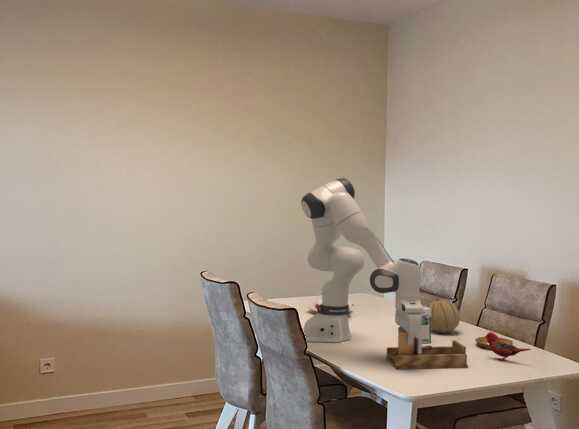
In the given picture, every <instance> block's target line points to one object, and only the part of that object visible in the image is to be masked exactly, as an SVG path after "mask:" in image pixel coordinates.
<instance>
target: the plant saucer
mask: <svg viewBox="0 0 579 429" xmlns="http://www.w3.org/2000/svg"><path fill="white" fill-rule="evenodd" d="M499 338H500V339H501V340H503V341H505V342H508V343H510V344H512V345H513V344H514V342H513V341H512V340H511V339H508V338H505V337H504V338H503V337H499ZM474 340H475V343H476V344H477V345H478V346H479V347H480V346H481V348H482V347H483V349H485V348H487V349H486V350H491V348H490V346H489V345H488V344H487V343H488V341H487V338H486V337H485V336H480V337H476V338H475V339H474Z"/></svg>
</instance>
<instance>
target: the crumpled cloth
mask: <svg viewBox="0 0 579 429" xmlns="http://www.w3.org/2000/svg"><path fill="white" fill-rule="evenodd" d="M316 304H319V305H321V304H322V294H320V295H318V296H317V297H316V298H315V299H314V300H313V301H312V302H311V303H310V304H308V305H307V309H308V310H310V311H314V312H316V313H318V312H317V309H316V308H315V305H316ZM348 305H349V311H350V310H351V309H352V307H354V306H355V304H354V302H352V301H350V300H348Z"/></svg>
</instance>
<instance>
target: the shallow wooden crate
mask: <svg viewBox="0 0 579 429" xmlns="http://www.w3.org/2000/svg"><path fill="white" fill-rule="evenodd" d="M451 343H452V344H451V345H450V346H449V345H448V346H447V345H445V346H441V345H440V346H432V350H422V355H398V346H397V347H396V346H395V347H394V346H393V347H392V346H391V347H386V356H385V359H386V361H388V363H390V365H392V367H394V368H395V370H396V371H397V370H433V369H435V370H436V369H438V370H439V369H442V368H443V369H468V367H469V365H468V354H467V353H466V352H467V347H466V346H465V345H463V344H462V343H460V342H459V341H458V340H452V342H451Z"/></svg>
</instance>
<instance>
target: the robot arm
mask: <svg viewBox="0 0 579 429" xmlns="http://www.w3.org/2000/svg"><path fill="white" fill-rule="evenodd" d="M355 195H356V191H355V188H354V185H353V184H352V182H351V181H349V179H347V178H345V177H342V178H341V177H340V178H337V179H335V180H334V181H333V180H332V181H330V182H328V183H327V182H326V183H325V184H323V185H321V186H319V187H317V188H315V189H314V190H312V191H311V192H308V193H306V194H304V195H303V196H302V198H301V201H300V202H301V203H300V204H301V208H302V211H303V212H304V214H305V215H306V217H307V218H310V221H311V223H312V228H313V232H314V236H315V243H314V245H313V246H312V247H311V248H310V249H309V251H308V252H307V262H308V265H309V266H310V267H311V268H312V269H314V270H318V271H321V272H329V273H330V272H331V273H333V276H332V278H331V279H330V280H328V281H326V282H325V283H324V284H323V285H322V288H321V295H322V304H321V305H319V304H316V305H315V308H316V309H317V312H316V313H315V314H314V315H312V317H311V316H310V318H309V319H307V320H305V323H304V326H303V331H304V333H305V336H306V340H307V341H306V343H308V342H311V343H313V342H314V343H315V342H316V343H342V342H344V341H349V340H351V338H352V335H351V331H350V325H349V317H350V310H349V305H348V301H349V292H350V291H349V288H350V285H351V282H352V280H353V278H354V277H355V275H357V274H358V273H359V272H360V271H361V270H362V269H363V267H364V265H365V256H364V253H363V252H362V250H359V249H357V248H354V247H350V246H338V245H336V244H335V242H337V241H338V240H339V239H340V238H341V236H343V238H345V240H346V241H348V242H350V243H352V244H354V245H358V246H359V247H361V248H363V250H365V251H366V253H367V254H368V256H369V258H370V259H371V260H372V262H373V264H374V265H375V267H377V268H376V269H374V270H373V271H371V274H370V276H369V283H370V287H371V288H372V289H373V290H374V291H375V292H377V293H379V294H389V293H395V297H394V298H395V300H394V302H395V303H394V304H395V305H394V306H395V314H394V316H395V317H394V318H395V319H394V322H395V324H396V325H398V327H401V328H403V329H404V330H405V331H407V332H408V339H407V343H408V344H409V345H412V344H413V339H414V335H419V334H420V332H421V323H422V315H421V313H423V307H424V306H423V304H422V302H421V292H420V287H421V280H422V278H421V268H420V264H419V263H418V262H417V261H415V260H413V259H410V258H403V257H402V258H401V257H400V258H398V259H397V260H396V261H394V260H393V259H392V257H391V256H390V254H389V253H388V251H387V250H386V249H385V247H384V245H383V244H382V242H381V241H380V240H379V238H378V237H377V235H376V233H375V231H374V230H373V228H372V226H371V225H370V223H369V221H368V219H367V217H366V215H365V214H364V212H363V209H361V207H360V206H359V204H358V203H357V201H356V200H355Z"/></svg>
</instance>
